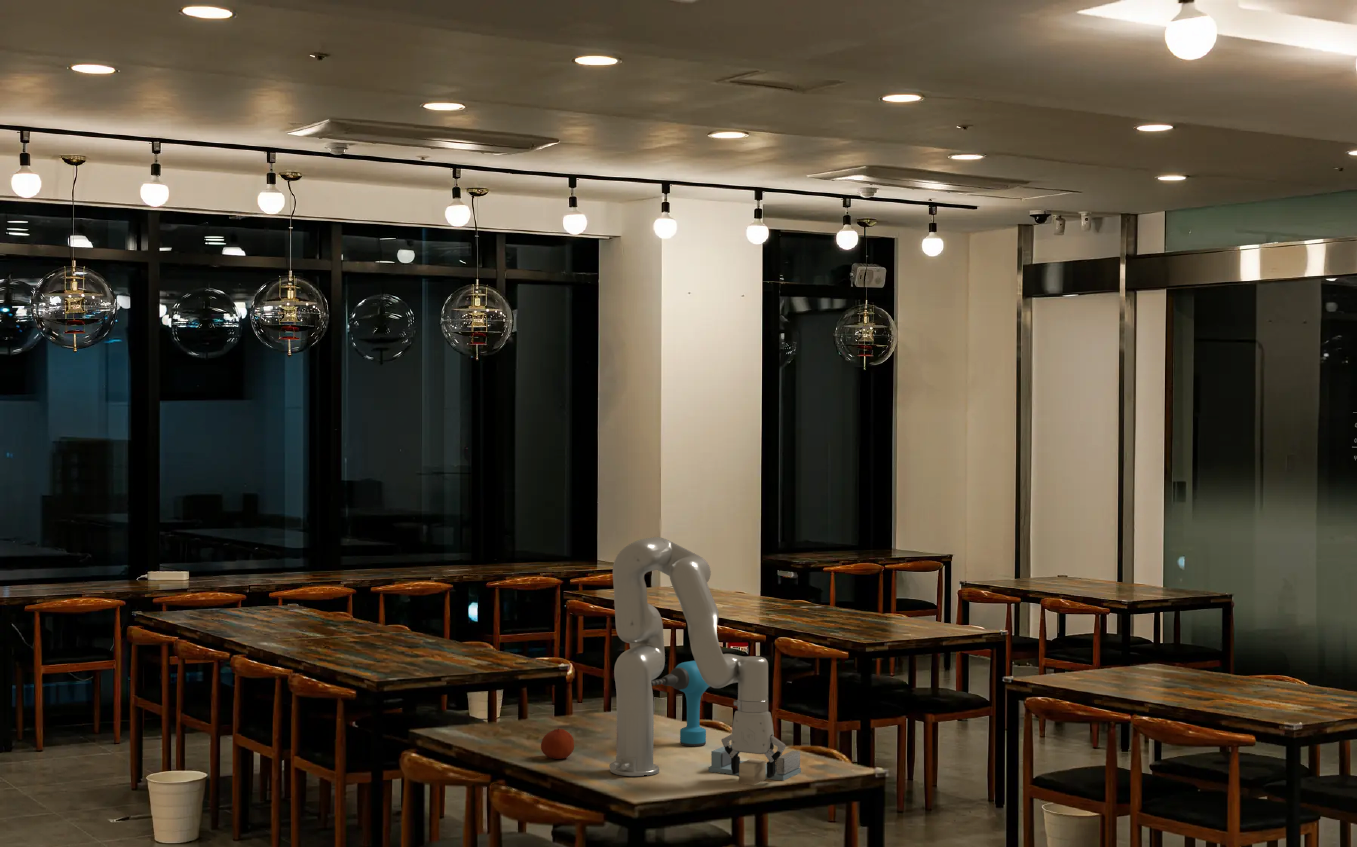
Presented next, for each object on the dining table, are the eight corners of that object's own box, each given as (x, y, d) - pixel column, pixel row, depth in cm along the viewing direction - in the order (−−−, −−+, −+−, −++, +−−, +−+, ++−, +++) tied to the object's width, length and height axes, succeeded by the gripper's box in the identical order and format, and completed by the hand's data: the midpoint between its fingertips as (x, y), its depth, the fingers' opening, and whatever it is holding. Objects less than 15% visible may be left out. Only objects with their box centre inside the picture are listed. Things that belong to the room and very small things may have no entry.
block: (753, 785, 394) (753, 765, 394) (739, 783, 396) (739, 763, 396) (765, 779, 400) (765, 760, 400) (751, 778, 402) (751, 758, 402)
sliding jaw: (784, 774, 400) (784, 758, 400) (775, 773, 401) (775, 757, 401) (800, 766, 408) (800, 751, 408) (791, 765, 410) (791, 750, 410)
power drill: (660, 756, 427) (660, 670, 427) (636, 752, 432) (637, 666, 433) (726, 741, 448) (727, 659, 448) (703, 737, 454) (703, 655, 454)
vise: (783, 780, 399) (783, 759, 399) (708, 771, 409) (708, 751, 409) (800, 772, 409) (800, 751, 409) (727, 763, 419) (727, 743, 419)
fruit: (554, 753, 430) (555, 724, 430) (580, 757, 425) (580, 727, 425) (533, 759, 423) (533, 728, 423) (559, 763, 418) (559, 732, 418)
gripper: (715, 706, 399) (715, 774, 399) (778, 711, 391) (778, 781, 391) (728, 701, 406) (728, 768, 405) (790, 706, 398) (791, 775, 397)
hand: (753, 774), depth 398 cm, fingers open, 9 cm apart
